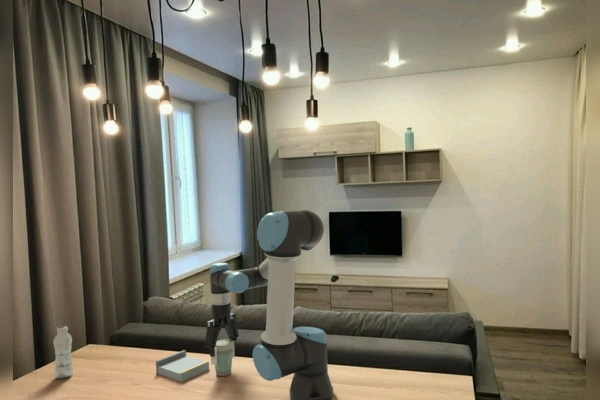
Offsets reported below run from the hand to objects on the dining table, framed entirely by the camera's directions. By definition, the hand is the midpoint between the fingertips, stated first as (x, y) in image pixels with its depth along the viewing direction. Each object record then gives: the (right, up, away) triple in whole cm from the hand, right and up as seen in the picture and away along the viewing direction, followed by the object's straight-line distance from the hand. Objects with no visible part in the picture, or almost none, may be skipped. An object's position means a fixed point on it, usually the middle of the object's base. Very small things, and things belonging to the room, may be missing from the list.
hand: (223, 360), depth 174 cm
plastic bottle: (-63, -7, +2) cm, 64 cm away
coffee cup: (0, -5, 0) cm, 5 cm away
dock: (-16, -6, +3) cm, 18 cm away
